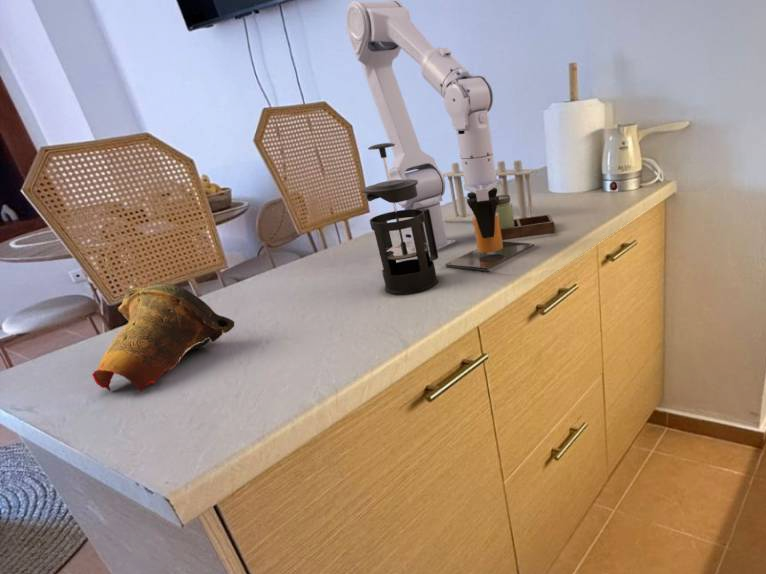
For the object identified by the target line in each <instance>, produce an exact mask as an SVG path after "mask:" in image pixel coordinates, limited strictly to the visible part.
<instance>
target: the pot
mask: <svg viewBox="0 0 766 574" xmlns="http://www.w3.org/2000/svg"><path fill="white" fill-rule="evenodd" d="M123 296H124V297H123V299H122V302H121V304H120V305H119V306H118V308H117V310H118V312H119V313H121V314H122V316H123V317H124V318H125V319H126V321H128V322H127V323H126V325H125V326H123V328H122V329H121V330H120V331H119V332H118V333H117V334H116V335H115V337H114V338H113V340H112V341H111V343H110V344H109V345H108V348H106V351H105V352H104V354H103V356H102V357H101V360H100V362H99V365H98V366H97V370H93V373H92V377H93V379H94V380H93V381H94V382H95V384H97V385H98V386H99V387H100V388H101V389H107V391H109V392H111V391H112V390H111V387H110V384H111V383H112V379H113V376H114V375H119V376H121V377H123V378H125V379H126V380H128V381H129V382H131V384H133V385H134V386H135V387H136V388H137V390H139V391H140V393H142V392H143V389H145V388H146V386H148V385H149V384H156V382H157V379H159V378H160V377H161V376H162V375H163V374H164V373H165V372H166V371H169V370H171V369H173V368H174V367H176V365H177V364H178V363H180V360H181V359H182V358H183V357H184V355H185V354H186V353H188V352H190V351H192V350H195V349H198V348H203V347H204V346H206V345H207V344H208V343H209V342H210V341H211V342H212V343H215V342H217V340H218V339H220V337H222V336H223V334H227V333H230V331H232V330H233V329H234V328H235V322H236V321H234V320H233V319H231V318H229V317H226V316H223V315H219V314H218V313H216V312H215V311H214V310H213V309H212V307H210V306H209V304H207V303H206V302H205V301H204V300H203V299H201V298H200V297H198V296H197V295H195V294H194V293H192V292H191V291H189V290H188V289H186V288H184V287H182V286H179V285H177V284H171V283H154V284H150V285H147V286H146V287H141V286H140V287H139V286H137V287H132V288H130V289H128V290H126V292H125V295H123Z"/></svg>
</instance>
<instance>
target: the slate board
mask: <svg viewBox="0 0 766 574" xmlns="http://www.w3.org/2000/svg"><path fill="white" fill-rule="evenodd" d="M502 242H503V248H502V249H500V250H498V251H494V252H487V253H483V252H479V251H478V250H477V248H475V249H474V250H472V251H469V252H467V253H466V254H463V255H461V256H459V257H457V258H455V259H453V260H450V261H449V262H446V263H445V267H446V268H447V269H453V270H462V271H469V272H470V271H471V272H479V273H490V272H491V270H490V269H492V268H494V267H496V266H498V265H500V264H502V263H505V262H506V261H508V260H510V259H511V258H513V257H516V256H517V255H519V254H521V253H523V252H525V251H527V250H528V249H529V250H530V249H531V248H532V247H534V246H535V243H530V242H529V243H528V242H527V243H526V242H518V241H517V242H515V241H514V242H513V241H504V240H502Z"/></svg>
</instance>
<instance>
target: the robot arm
mask: <svg viewBox="0 0 766 574" xmlns="http://www.w3.org/2000/svg"><path fill="white" fill-rule="evenodd" d="M345 30H346V31H347V32H346V33H347V35H348V38H349V41H350V43H351V46H352V48H353V51H354V54H355V56H356V60H357V61H358V62H360V65H361V68H362V70H363V73H364V76H365V79H366V81H367V84H368V87H369V89H370V93H371V95H372V98H373V101H374V103H375V106H376V108H377V112H378V114H379V117H380V120H381V123H382V126H383V128H384V131H385V133H386V136H387V139H388V141H389V142H388V143H393V144H395V146H392V147H391V150H392V153H393V155H394V158H395V159H394V161H393V162H392V164H391V166H390V168H389V169H388V173H389V177H390V181H391V180H417V181H418V184H417V185H416V189H417V194H418V196H417V197H415V198H413V199H410V200H406V201H402V202H397V204H398V205H399V206H400V207H401V209H403V210H409V209H421V208H425V209H429V211H430V216H431V221H432V226H433V232H434V237H435V242H436V248H437V250H440V249H442V248H444V247H446V246H449V245H451V244H453V243H455V242H456V240H454V239H447V235H446V230H445V229H446V228H445V224H444V219H443V213H442V212H443V211H442V207H441V203H440V202H442V201H443V196H444V194H445V192H446V180H445V177H443V175H442V174H443V173H442V171H441V170H440V169H439V167H438V165H437V163H436V161H435V158H434V157H433V156H431V154H428V153H426V152H424V151H423V150H422V149H421V146H420V143H419V140H418V138H417V135H416V132H415V129H414V126H413V124H412V121H411V117H410V115H409V111H408V109H407V106H406V104H405V101H404V98H403V95H402V92H401V90H400V89H401V88H400V86H399V84H398V81H397V78H396V75H395V72H394V69H393V62H394V60H395V59H396V58H397V57H399V54H400V52H401V50H403V51H404V53H406V54H407V55H409V57H411V58H412V59H413V60H414V61H415V62H416V63H417V64H419V65H420V72H421V73H420V74H421V75H422V77H423V78H424V80H425V81H426V82H428V84H429V85H430V86H431V87H432V88H433V89H434V90H435V91H436V92H437V93H438V94H439V95H440V96H441V97H442V98H443V99H444V100H443V104H444V108H445V110H446V112H447V114H448V115H449V118H450V119H451V125H452V127H453V129H454V130H455V131H456V136H457V144H458V150H459V157H460V162H461V163H460V164H461V171H463V176H462V177H463V181H464V184H463V188H464V189H463V190H465V191H467V194H466V196H467V199H466V204H467V206H468V207H469V208H470V210H471V211H472V214H473V213H474V215H475V217H476V220H477V223H478V226H479V229H480V232H481V235H482V237H483V238H489V237H494V233H495V213H496V208H497V204H498V201H499V197H496V196H497V193H498V188H497V186H500V184H503V179H499V178H497V176H496V173H495V170H496V167H495V157H494V150H493V141H492V135H491V128H490V127H491V126H490V121H489V112H490V111H491V109H492V107H493V104H494V93H493V89H492V86H491V85H490V83H489V81H488V80H487V79H486V77H485V76H483V75H474V74H473V73H470V72H469V70H468V69H467V68H466V67H464V66H462V65H461V63H460V62H458V60H456V59H455V57H453V55H452V52H451V50H449V48H448V47H442V46H441V47H439V46H437V47H434V46H433V45H432V44H431V43H430V41H429V40H428V39H427V38H426V37H425V36H424V35H423V34H422V32H421V31H420V30H419V29H418V28H417V26H416V25H415V24H414V23H413V21H411V15H410V11H409V9H408V8H407V7H405V6H404V5H403V3H402V2H400V1H399V0H390V1H389V0H388V1H387V0H386V1H358V0H353V1H351V2H350V3H349V4H348V6H347V11H346V19H345ZM410 218H414V217H409V218H400V219H399V221H402V220H407V219H410ZM395 222H397V220H396V219H395ZM423 226H424V231H425V236H426V241H427V244H428V240H427V235H426V229H425V224H424V222H423ZM401 232H402V237H403V242H405V243H411V242H414V239H413V234H412V230H411V227H410V228H406V229H401ZM397 234H398V235H397V236H398V240H399V244H400V243H401V238H400V233H399V230H397ZM428 251H429V254H430V250H429V246H428Z"/></svg>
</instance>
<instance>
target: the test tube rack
mask: <svg viewBox="0 0 766 574" xmlns="http://www.w3.org/2000/svg"><path fill="white" fill-rule="evenodd" d="M496 163H497V164H496V167H497V169H495V173H496V177H497V176H498V179H503V184H499V189H500V195H509V196H510V194H509V185H508V178H507V176H514V179H515V187H516V197H517V206H518V215H517V214H513V216H514V219H520V218H527V217H534V216H535V214H534V211H533V210H534V209H533V200H532V192H531V191H532V190H531V180H530V178H531V174H533V173H535V172H538V169H537V168H529V169H527V168H526V169H524V168H523V165H522V160H520V159H517V160H513V169H506V163H505V160H498V161H497V162H496ZM451 170H452V171H448V172H445V173H442V175H443V177H444V178H445V177H447V180H448V183H449V189H450V195H451V200H452V207H453V215H451V216H449V217H447V218H446V221H447V222H451V223H460V222H461V221H468V222H469V221H471V222H473V216H475V215H474V214H473V213H467V207H466V200H465V194H464V189H463V188H464V186H463V180H462V177H464V176H463V170H460V164H459V162H452V163H451ZM524 178H525V183H526V184H525V183H524ZM525 185H526V192H525ZM526 193H527V201H526ZM456 200H457V201H456ZM509 203H511V201H510V202H509ZM527 204H528V212H527ZM457 206H458V207H457ZM527 213H528V215H527Z"/></svg>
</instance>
